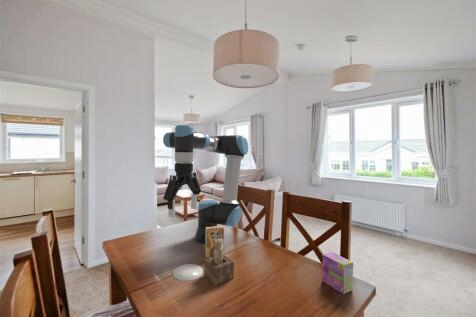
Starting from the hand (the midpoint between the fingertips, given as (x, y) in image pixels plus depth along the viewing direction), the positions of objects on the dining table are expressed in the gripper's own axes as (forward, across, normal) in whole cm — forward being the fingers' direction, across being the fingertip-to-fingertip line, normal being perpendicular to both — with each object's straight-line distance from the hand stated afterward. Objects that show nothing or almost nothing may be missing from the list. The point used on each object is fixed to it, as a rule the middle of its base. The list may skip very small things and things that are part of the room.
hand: (183, 212), depth 95 cm
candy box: (+29, -22, +1) cm, 36 cm away
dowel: (+27, -6, +14) cm, 31 cm away
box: (+29, -28, +58) cm, 71 cm away
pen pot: (+28, -7, +14) cm, 32 cm away
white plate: (+28, -3, 0) cm, 28 cm away
